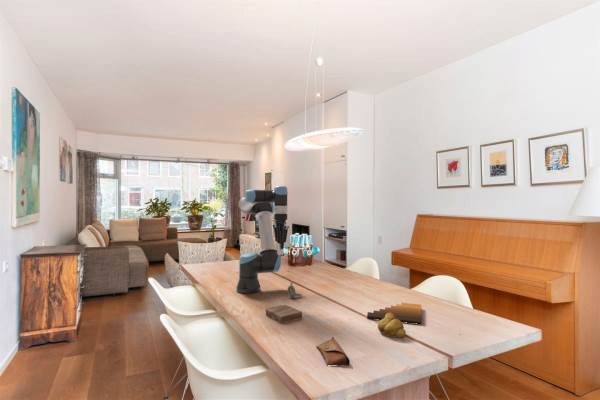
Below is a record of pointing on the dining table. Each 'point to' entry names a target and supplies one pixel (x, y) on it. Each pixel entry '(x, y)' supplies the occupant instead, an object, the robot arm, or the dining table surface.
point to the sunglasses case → (333, 353)
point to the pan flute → (400, 313)
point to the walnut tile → (283, 313)
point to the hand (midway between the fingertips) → (280, 254)
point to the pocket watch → (293, 292)
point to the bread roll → (391, 326)
